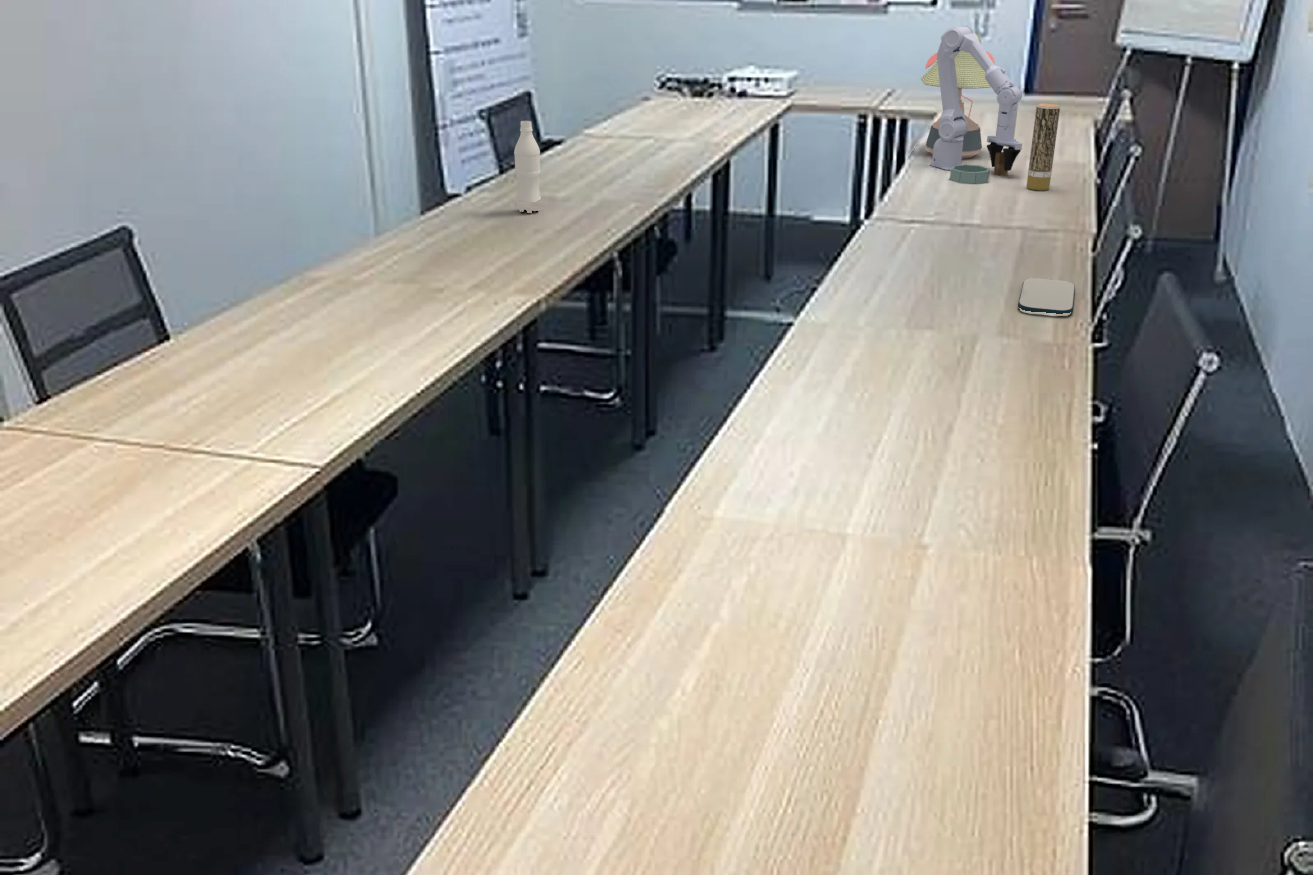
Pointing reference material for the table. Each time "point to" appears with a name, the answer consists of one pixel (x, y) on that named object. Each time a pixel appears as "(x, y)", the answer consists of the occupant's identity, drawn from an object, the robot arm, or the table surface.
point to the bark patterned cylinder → (1043, 146)
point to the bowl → (970, 174)
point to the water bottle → (527, 165)
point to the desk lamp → (967, 78)
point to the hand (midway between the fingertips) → (1001, 168)
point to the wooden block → (999, 164)
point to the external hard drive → (1047, 296)
